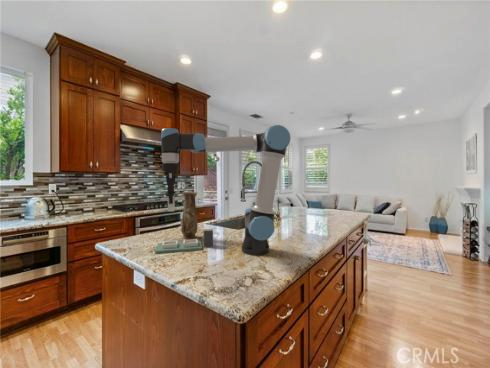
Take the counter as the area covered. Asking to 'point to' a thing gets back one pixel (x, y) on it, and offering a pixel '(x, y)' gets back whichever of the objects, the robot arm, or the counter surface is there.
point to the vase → (189, 216)
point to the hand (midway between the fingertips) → (171, 209)
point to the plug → (208, 238)
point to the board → (178, 246)
